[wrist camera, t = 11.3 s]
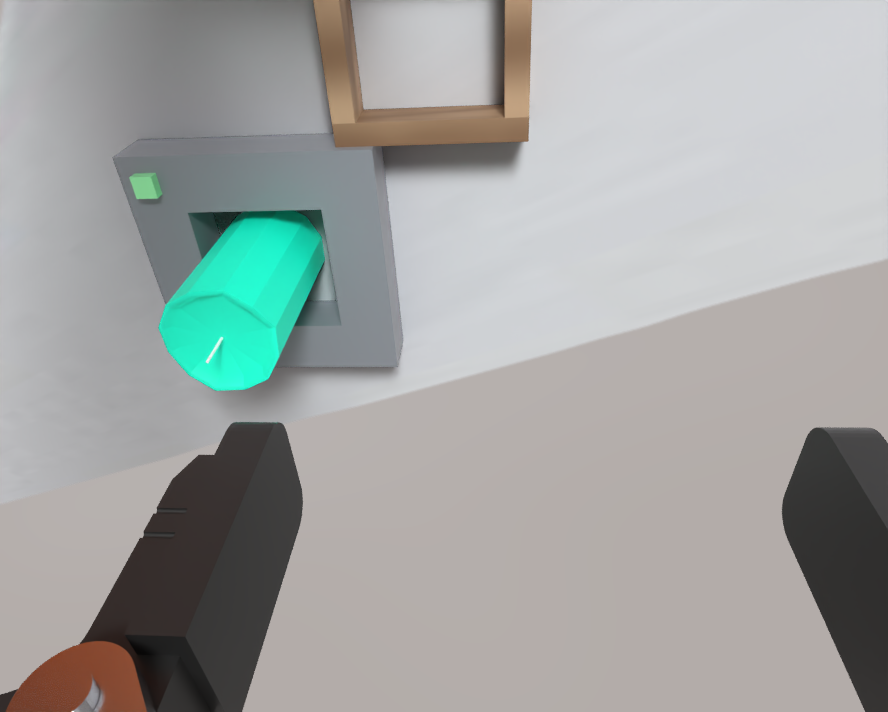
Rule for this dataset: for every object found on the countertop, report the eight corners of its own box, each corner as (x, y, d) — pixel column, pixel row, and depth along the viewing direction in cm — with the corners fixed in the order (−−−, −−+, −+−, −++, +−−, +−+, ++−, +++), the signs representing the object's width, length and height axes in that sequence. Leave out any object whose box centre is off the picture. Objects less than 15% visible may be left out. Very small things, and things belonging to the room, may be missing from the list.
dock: (137, 139, 36) (106, 161, 33) (380, 131, 35) (369, 153, 32) (204, 341, 44) (184, 372, 42) (403, 340, 43) (396, 372, 40)
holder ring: (313, -87, 29) (300, -85, 27) (531, -101, 28) (534, -100, 26) (344, 132, 35) (335, 147, 33) (526, 126, 34) (528, 141, 32)
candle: (319, 298, 42) (265, 421, 32) (227, 276, 41) (145, 394, 32) (331, 216, 38) (275, 326, 29) (231, 191, 38) (140, 294, 28)
